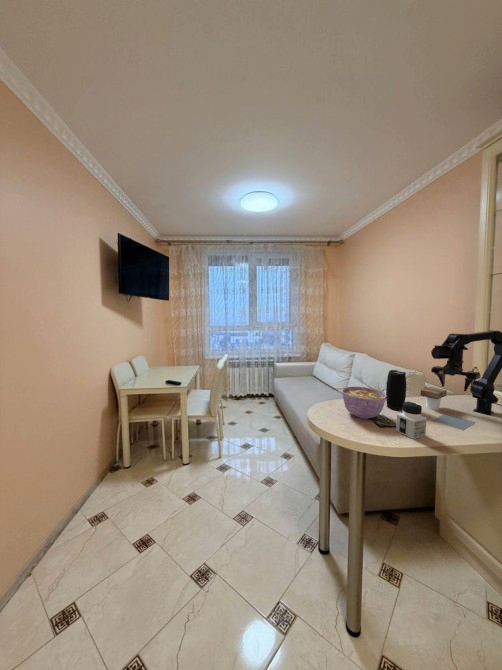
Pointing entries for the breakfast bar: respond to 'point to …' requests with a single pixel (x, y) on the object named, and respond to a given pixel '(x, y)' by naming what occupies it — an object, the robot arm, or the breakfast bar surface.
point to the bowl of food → (363, 401)
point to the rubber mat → (454, 421)
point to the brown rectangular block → (433, 392)
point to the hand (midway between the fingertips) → (453, 389)
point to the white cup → (433, 403)
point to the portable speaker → (396, 389)
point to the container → (411, 421)
